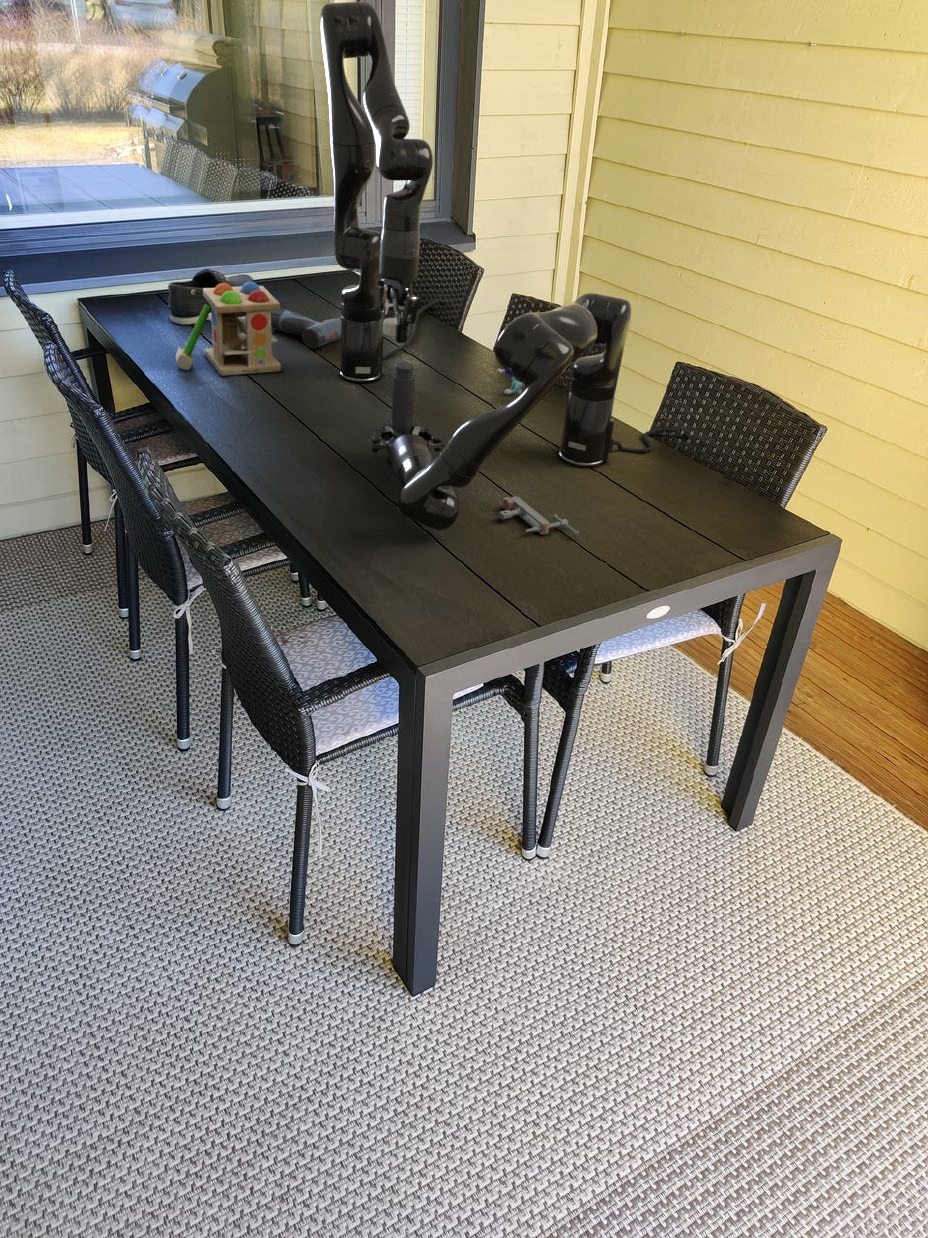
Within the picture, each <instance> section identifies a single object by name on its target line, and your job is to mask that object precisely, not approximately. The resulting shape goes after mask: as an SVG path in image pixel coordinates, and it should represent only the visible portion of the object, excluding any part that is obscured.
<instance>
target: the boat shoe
mask: <svg viewBox="0 0 928 1238" xmlns="http://www.w3.org/2000/svg"><path fill="white" fill-rule="evenodd" d="M247 282H254V283H256V281H255V280H254V278H253V277H252V276H251V275H249V274H235V275H230V276H227V277H226V276H225V274H222V272H219V271H217V270H214V269H209V268H204V269H201V270H199V271H198V272H196V274H194V276H193V277H192V278H191V280H186V281H185V280H184V281H171V282H169V283H168V285H167V288H168V294H169V296H168V305H167V309H168V310H170V312H169V317H170V318H169V319H170V322H173V323H175V324H179V325H193V324H194V325H195V324H196V322H197V320H198V318H199V316H200V314H201V311H202V309H203V307H204V305H208V306H210V307H211V305H210V304H209V302H208V301H207V300H206V299H205V297H204V296H203V289H204V288H215V287H216V286H217V285H218V284H221V283H226V284H228V285H230V286H231V287H242V286H243V285H244V284H245V283H247ZM209 314H211V310H210V312H209ZM206 321H210V320H209V318H207V320H206Z"/></svg>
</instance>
